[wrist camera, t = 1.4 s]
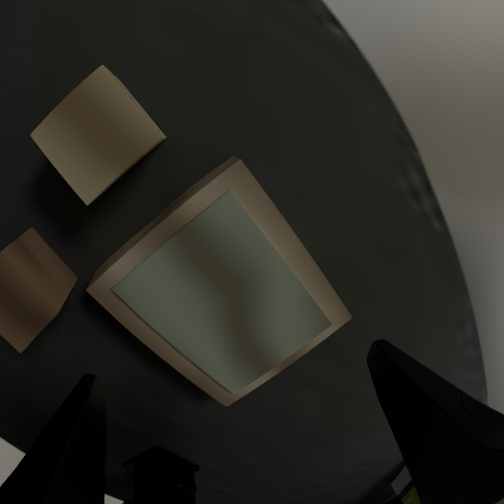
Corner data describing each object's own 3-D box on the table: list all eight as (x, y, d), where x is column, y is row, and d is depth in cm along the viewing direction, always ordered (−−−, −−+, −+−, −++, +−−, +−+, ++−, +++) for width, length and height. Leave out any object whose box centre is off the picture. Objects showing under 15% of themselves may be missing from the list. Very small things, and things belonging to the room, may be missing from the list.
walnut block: (42, 315, 21) (20, 353, 16) (-1, 269, 19) (-32, 300, 14) (78, 277, 20) (58, 313, 16) (32, 226, 18) (0, 251, 14)
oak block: (107, 189, 19) (87, 206, 14) (61, 133, 17) (29, 135, 12) (166, 137, 19) (162, 138, 14) (119, 80, 17) (102, 64, 12)
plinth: (220, 382, 26) (227, 409, 23) (96, 270, 20) (84, 292, 17) (335, 298, 26) (354, 319, 23) (231, 155, 20) (241, 159, 17)
